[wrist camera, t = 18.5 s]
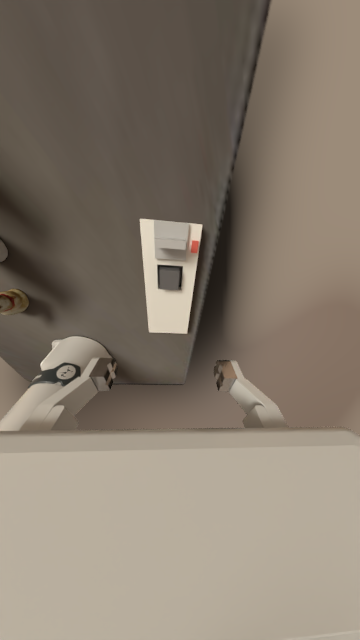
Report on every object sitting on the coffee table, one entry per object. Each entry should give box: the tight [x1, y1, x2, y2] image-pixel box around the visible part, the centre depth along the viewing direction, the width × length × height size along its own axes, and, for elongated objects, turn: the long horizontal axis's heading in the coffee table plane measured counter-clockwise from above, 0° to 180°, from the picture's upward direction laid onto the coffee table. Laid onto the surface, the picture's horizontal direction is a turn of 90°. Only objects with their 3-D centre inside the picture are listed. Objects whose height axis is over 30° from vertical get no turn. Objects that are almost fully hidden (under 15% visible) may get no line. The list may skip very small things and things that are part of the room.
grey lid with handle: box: [154, 220, 189, 261], centre depth 23 cm, size 6×6×4 cm
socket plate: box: [140, 219, 202, 334], centre depth 31 cm, size 26×11×3 cm, turn 176°
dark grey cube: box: [159, 265, 180, 290], centre depth 29 cm, size 4×4×4 cm
